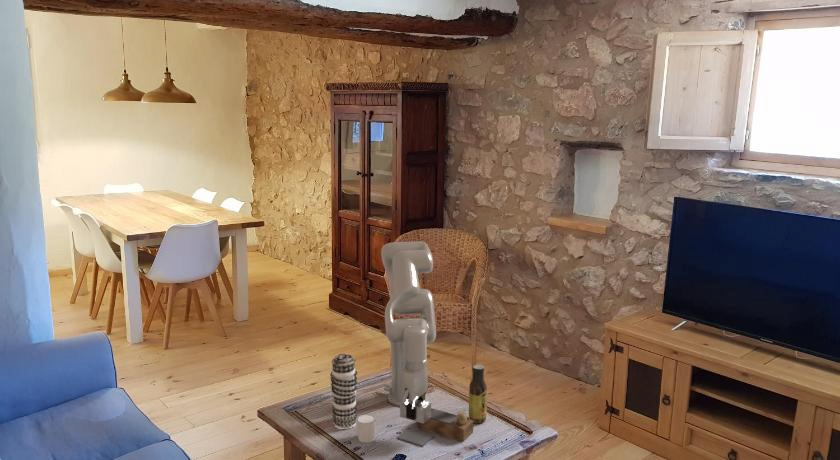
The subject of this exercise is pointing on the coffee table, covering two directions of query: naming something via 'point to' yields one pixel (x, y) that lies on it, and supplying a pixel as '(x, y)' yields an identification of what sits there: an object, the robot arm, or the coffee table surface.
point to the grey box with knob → (418, 411)
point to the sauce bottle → (478, 396)
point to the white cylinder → (366, 427)
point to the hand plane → (448, 424)
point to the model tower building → (344, 391)
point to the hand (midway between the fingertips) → (415, 414)
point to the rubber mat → (415, 437)
